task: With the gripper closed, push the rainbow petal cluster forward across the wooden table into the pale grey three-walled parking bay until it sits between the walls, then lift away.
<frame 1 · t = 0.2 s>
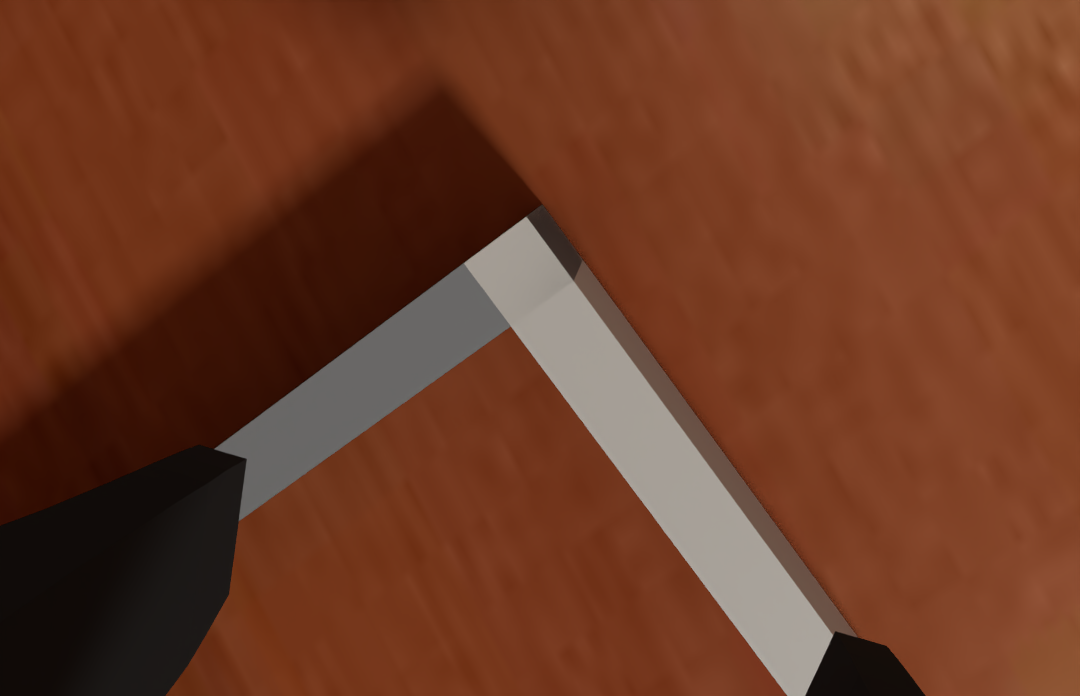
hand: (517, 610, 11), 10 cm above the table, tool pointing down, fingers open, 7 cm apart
parking bay: (428, 690, 24), on the table
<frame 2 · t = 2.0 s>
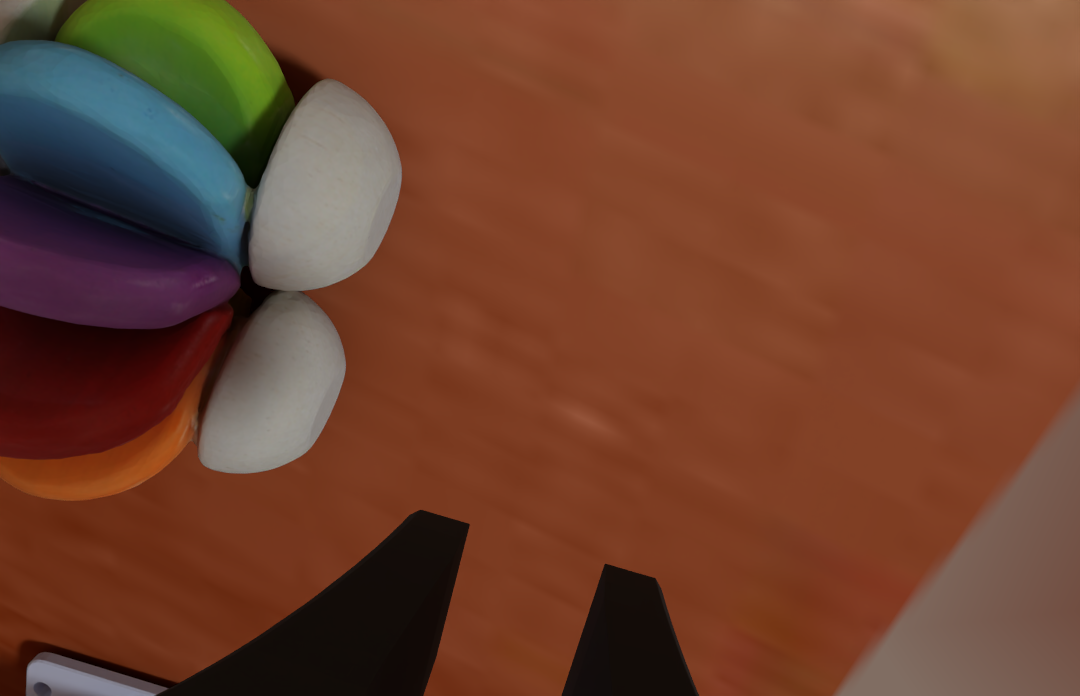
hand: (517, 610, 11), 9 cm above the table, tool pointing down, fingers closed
rainbow petal cluster: (207, 209, 20), on the table
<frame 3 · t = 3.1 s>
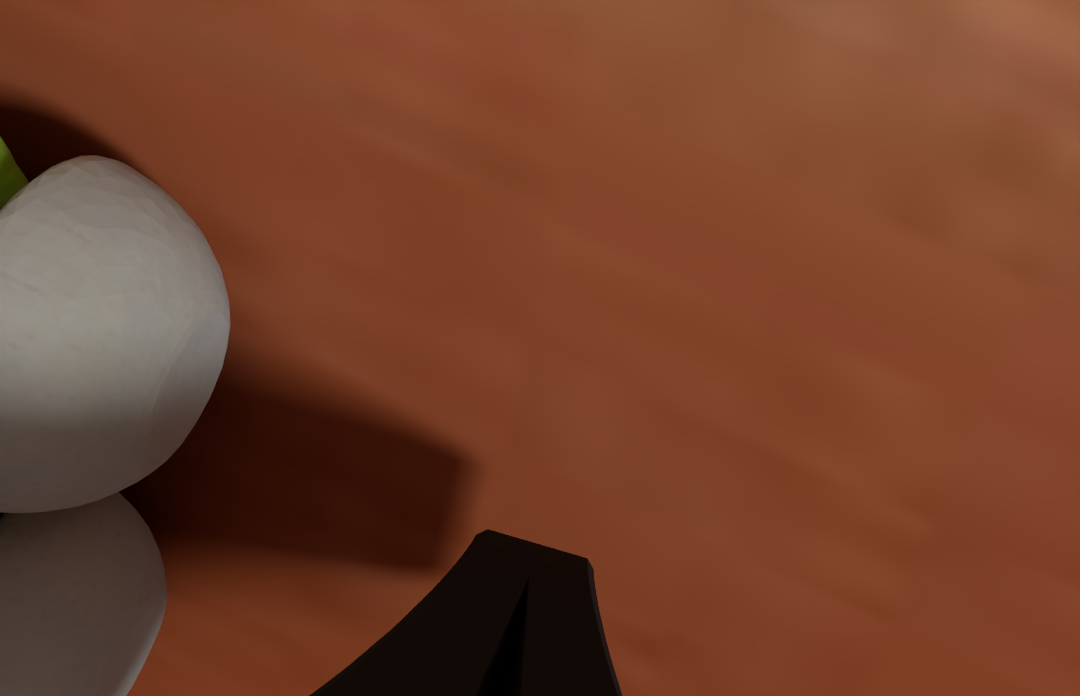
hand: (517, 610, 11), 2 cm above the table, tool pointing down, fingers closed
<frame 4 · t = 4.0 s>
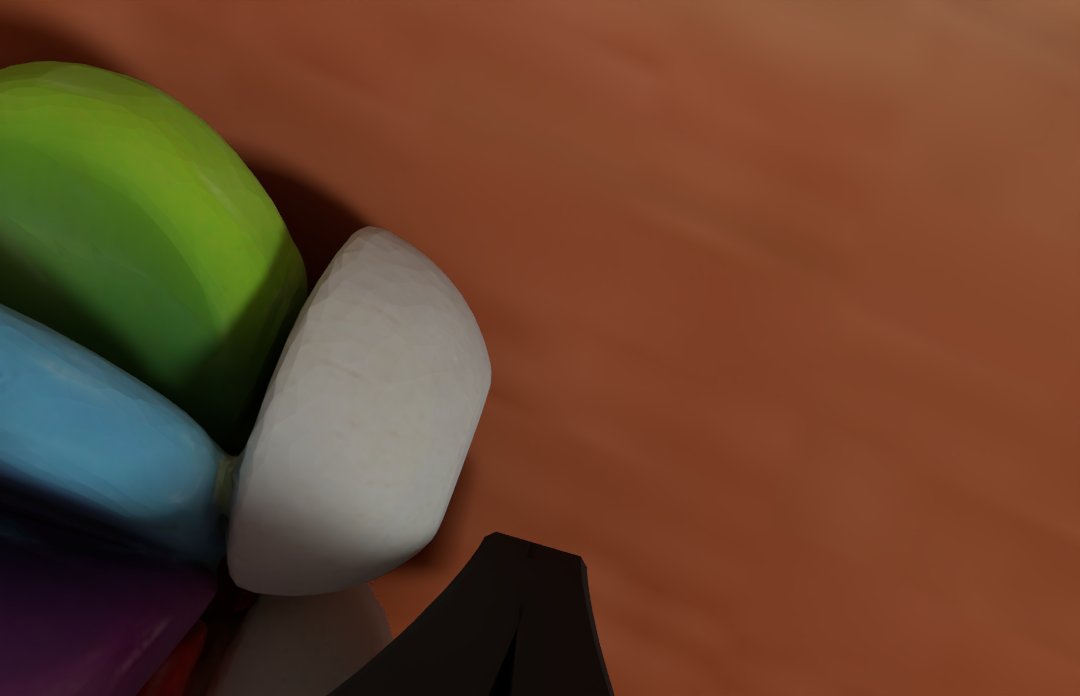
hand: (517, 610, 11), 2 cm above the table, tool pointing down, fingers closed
rainbow petal cluster: (171, 401, 13), on the table, touching gripper
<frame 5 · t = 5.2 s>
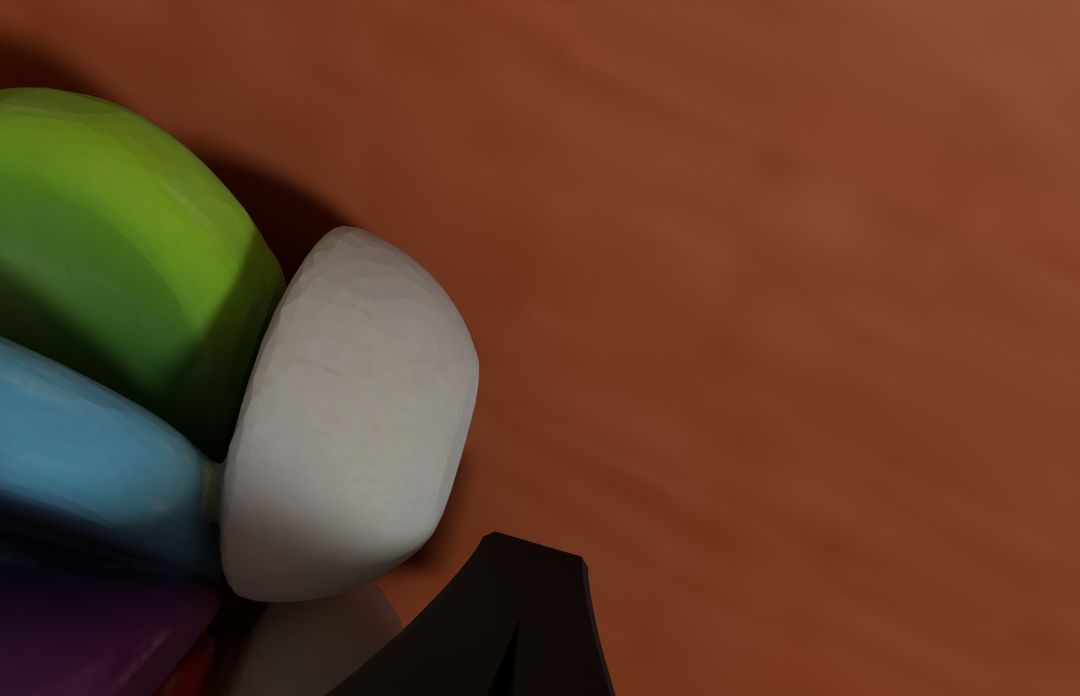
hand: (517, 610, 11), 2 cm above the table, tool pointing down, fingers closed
rainbow petal cluster: (173, 423, 13), on the table, touching gripper
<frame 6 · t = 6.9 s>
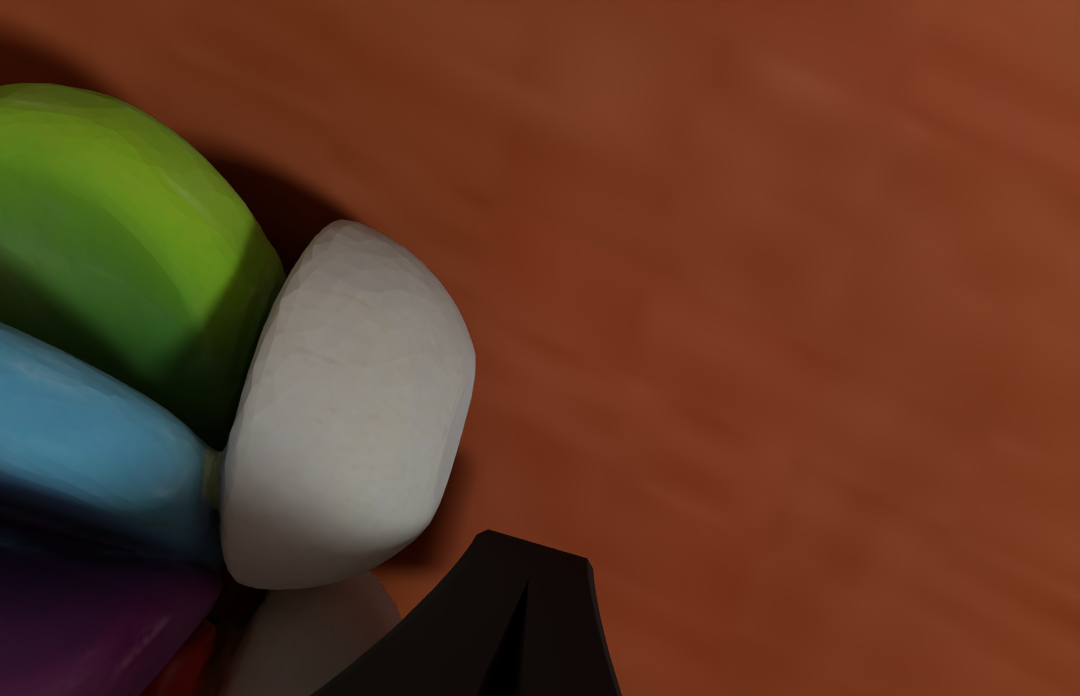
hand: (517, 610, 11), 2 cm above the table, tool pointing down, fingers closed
rainbow petal cluster: (174, 416, 13), on the table
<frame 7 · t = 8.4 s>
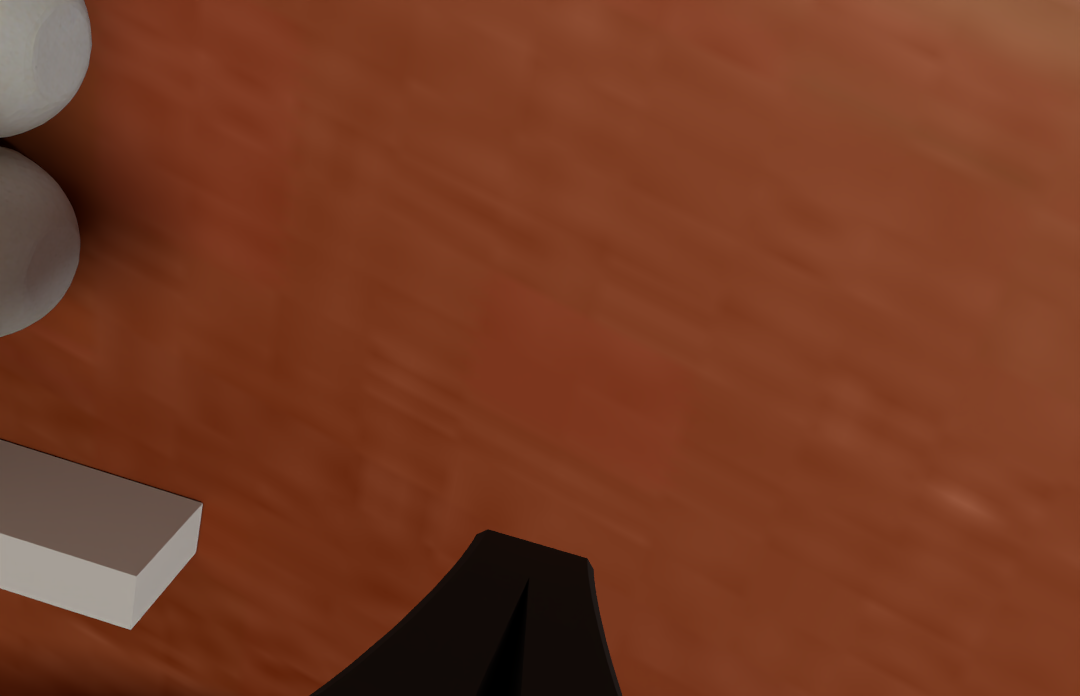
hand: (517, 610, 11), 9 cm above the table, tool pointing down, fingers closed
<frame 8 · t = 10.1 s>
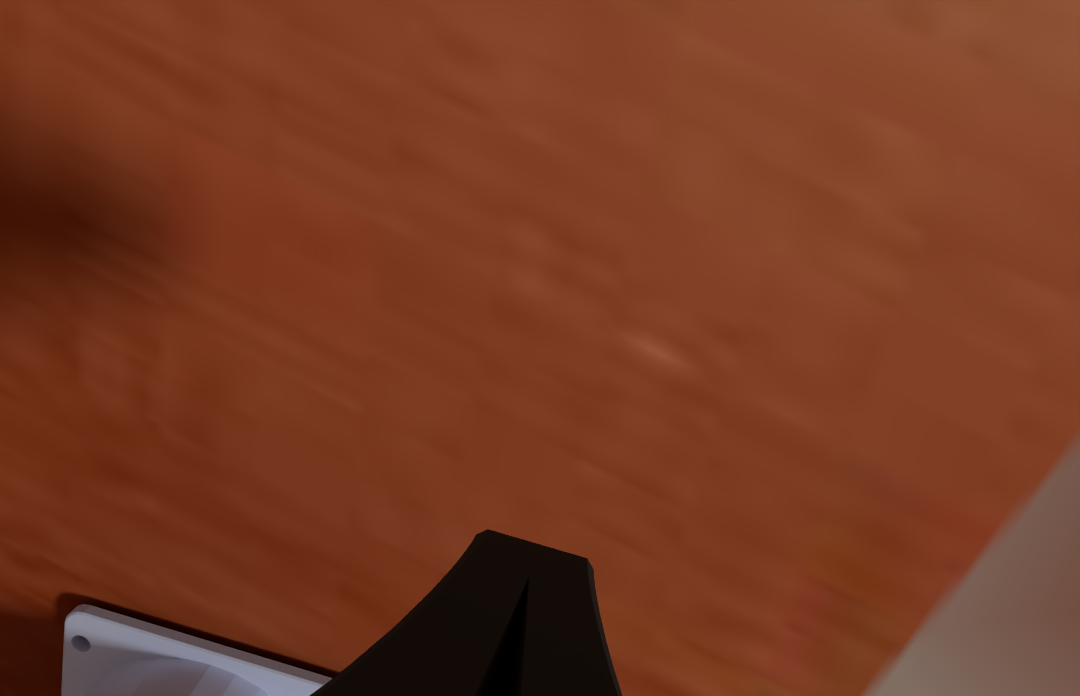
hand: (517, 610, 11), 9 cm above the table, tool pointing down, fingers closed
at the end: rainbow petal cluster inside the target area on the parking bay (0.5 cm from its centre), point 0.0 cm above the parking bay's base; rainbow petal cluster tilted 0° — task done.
